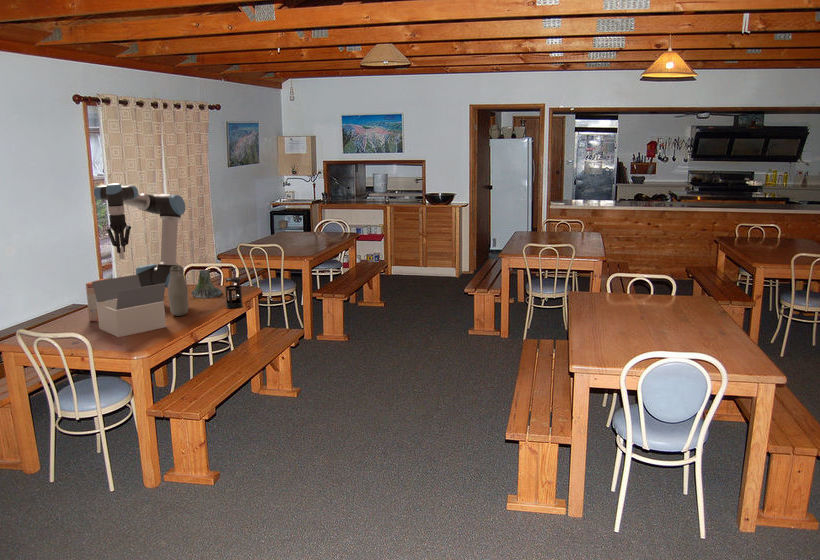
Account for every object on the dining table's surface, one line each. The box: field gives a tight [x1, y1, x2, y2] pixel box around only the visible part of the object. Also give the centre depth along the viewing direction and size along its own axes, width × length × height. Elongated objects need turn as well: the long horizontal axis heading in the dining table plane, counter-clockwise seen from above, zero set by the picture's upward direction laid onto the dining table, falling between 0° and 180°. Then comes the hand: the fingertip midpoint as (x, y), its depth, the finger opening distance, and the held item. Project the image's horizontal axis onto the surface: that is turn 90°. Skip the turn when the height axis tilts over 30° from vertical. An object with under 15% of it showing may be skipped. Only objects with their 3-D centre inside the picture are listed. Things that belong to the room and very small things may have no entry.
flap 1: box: [91, 274, 141, 302], centre depth 362 cm, size 24×11×1 cm
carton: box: [97, 299, 167, 338], centre depth 355 cm, size 25×23×14 cm
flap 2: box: [116, 283, 166, 310], centre depth 344 cm, size 24×11×1 cm
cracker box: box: [85, 278, 114, 323], centre depth 374 cm, size 14×6×21 cm, turn 168°
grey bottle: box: [167, 264, 189, 317], centre depth 378 cm, size 10×10×28 cm
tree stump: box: [191, 269, 223, 299], centre depth 429 cm, size 18×20×18 cm
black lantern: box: [224, 267, 244, 310], centre depth 396 cm, size 12×9×23 cm
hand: (122, 258), depth 361 cm, fingers closed
